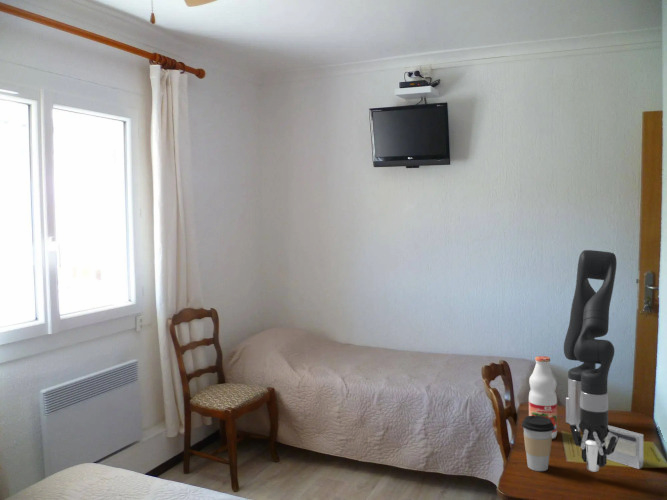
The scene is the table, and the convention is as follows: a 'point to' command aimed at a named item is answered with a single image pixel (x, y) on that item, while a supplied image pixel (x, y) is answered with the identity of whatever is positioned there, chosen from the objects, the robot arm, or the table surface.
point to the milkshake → (592, 455)
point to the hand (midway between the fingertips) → (593, 463)
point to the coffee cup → (537, 441)
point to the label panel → (627, 447)
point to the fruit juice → (543, 392)
